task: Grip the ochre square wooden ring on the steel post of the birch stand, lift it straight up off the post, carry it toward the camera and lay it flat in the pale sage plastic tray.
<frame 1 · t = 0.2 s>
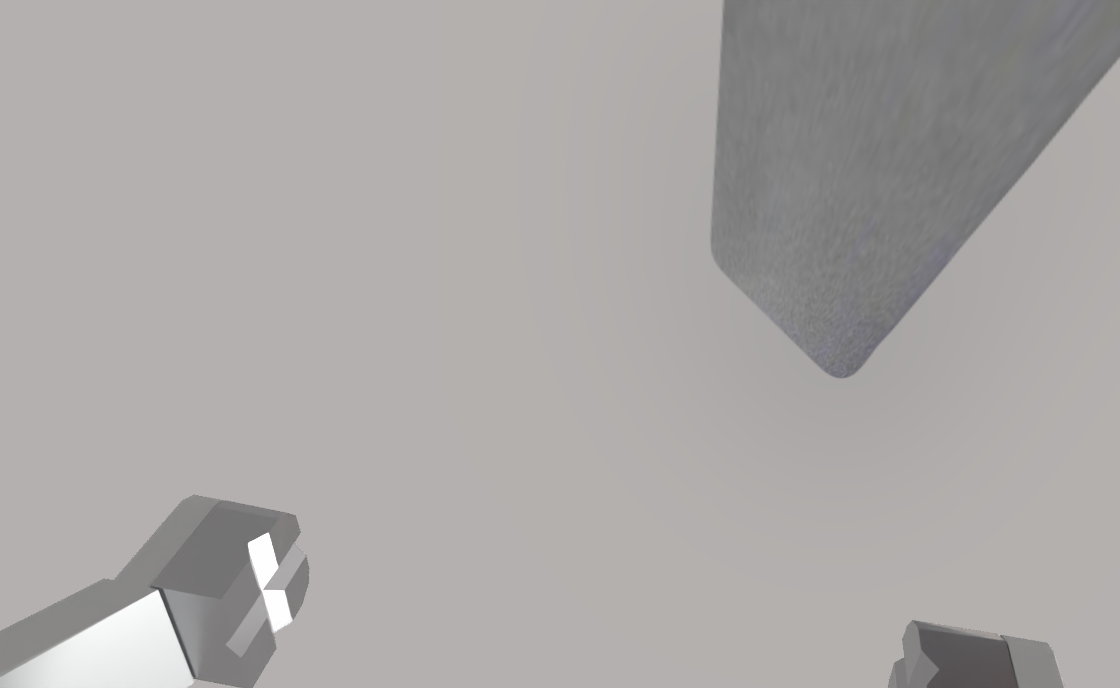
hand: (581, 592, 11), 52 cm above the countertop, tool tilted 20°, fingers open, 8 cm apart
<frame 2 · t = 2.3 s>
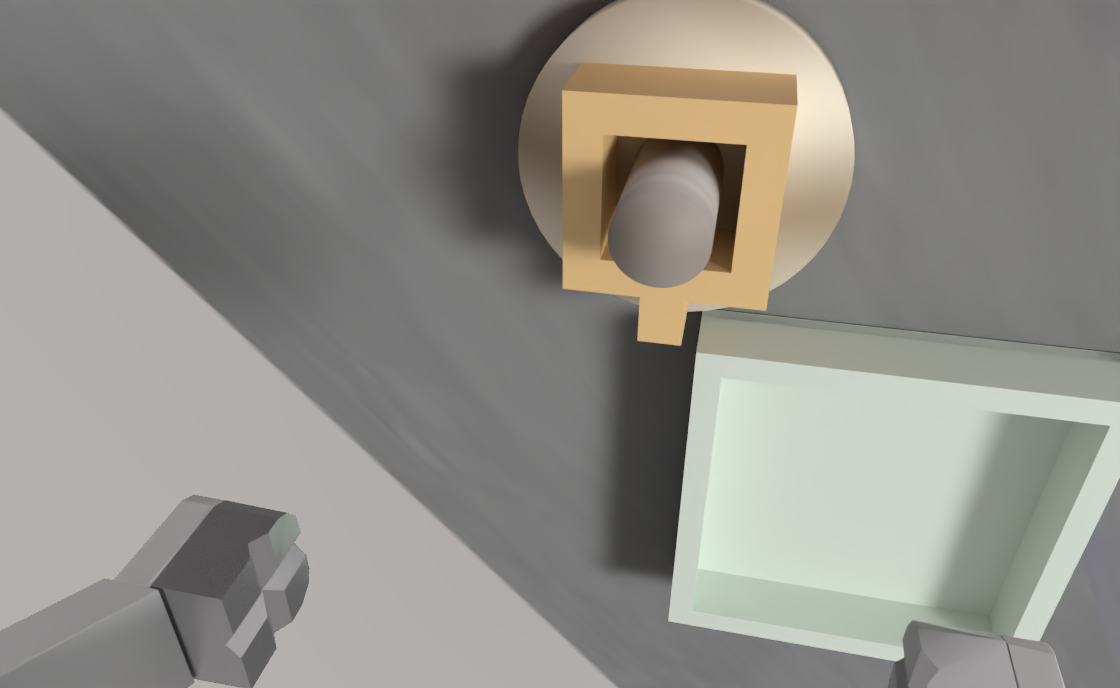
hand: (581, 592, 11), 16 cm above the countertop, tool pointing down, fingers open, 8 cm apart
stand: (683, 153, 24), on the countertop
tray: (865, 478, 29), on the countertop
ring: (678, 169, 23), point 1 cm above the countertop, touching stand
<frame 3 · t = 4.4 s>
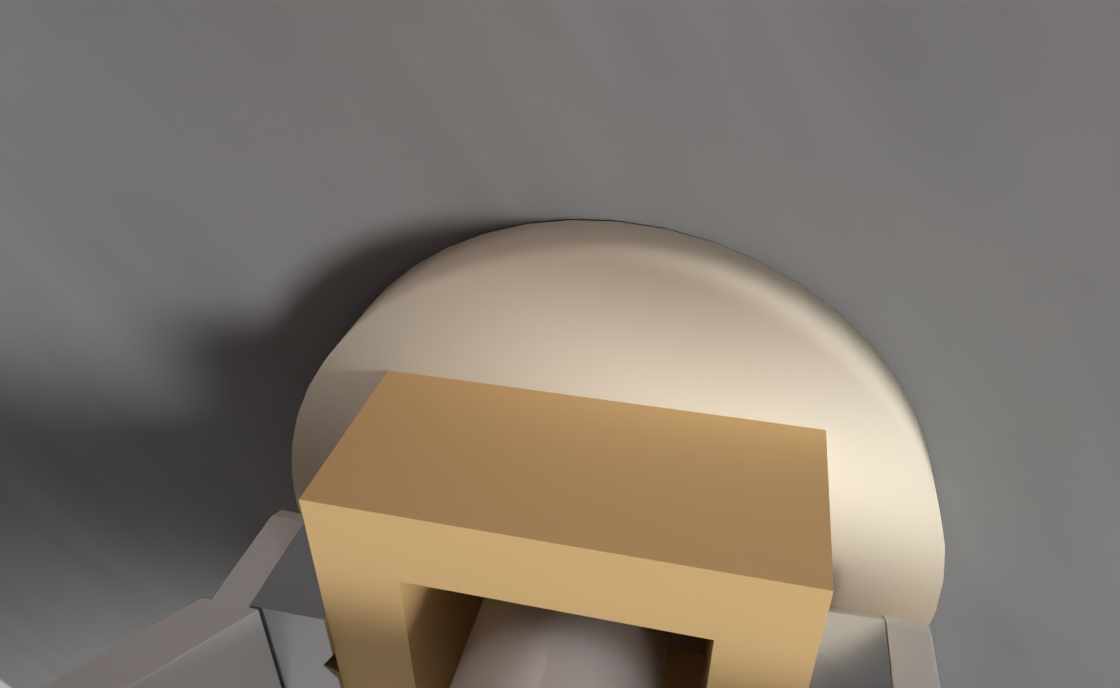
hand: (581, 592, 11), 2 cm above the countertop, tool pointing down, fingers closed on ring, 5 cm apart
stand: (608, 494, 13), on the countertop
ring: (592, 553, 12), point 1 cm above the countertop, touching gripper, stand
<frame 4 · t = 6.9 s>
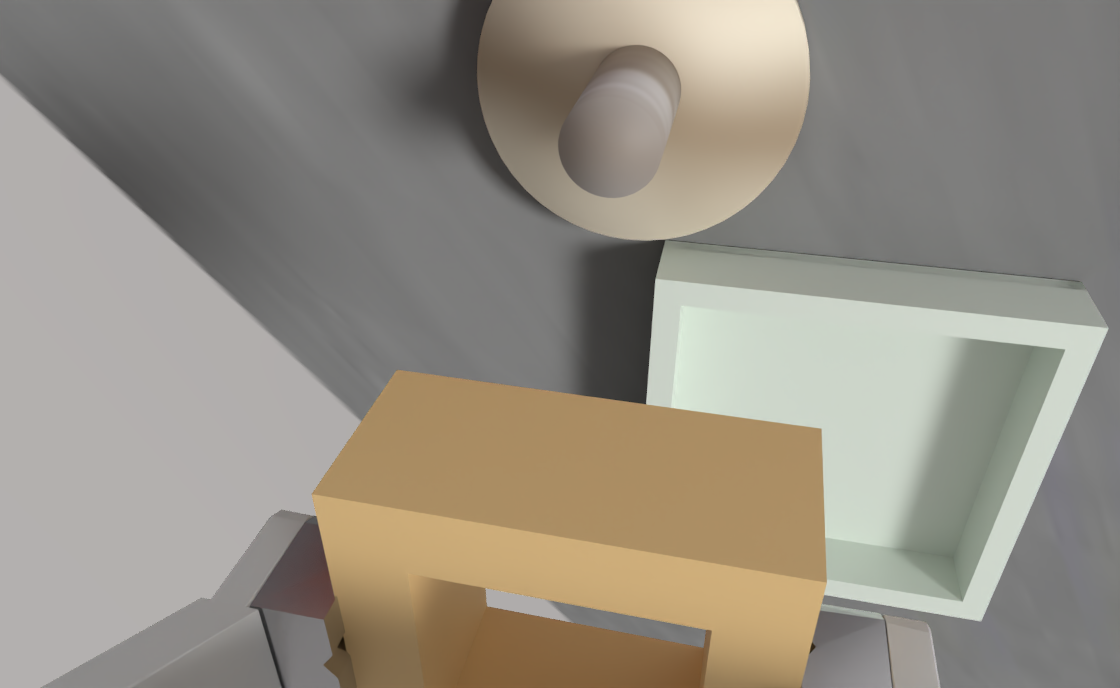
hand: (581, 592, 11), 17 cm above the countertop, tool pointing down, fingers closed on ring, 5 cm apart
stand: (642, 77, 24), on the countertop
tray: (828, 416, 29), on the countertop
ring: (594, 549, 12), point 16 cm above the countertop, touching gripper
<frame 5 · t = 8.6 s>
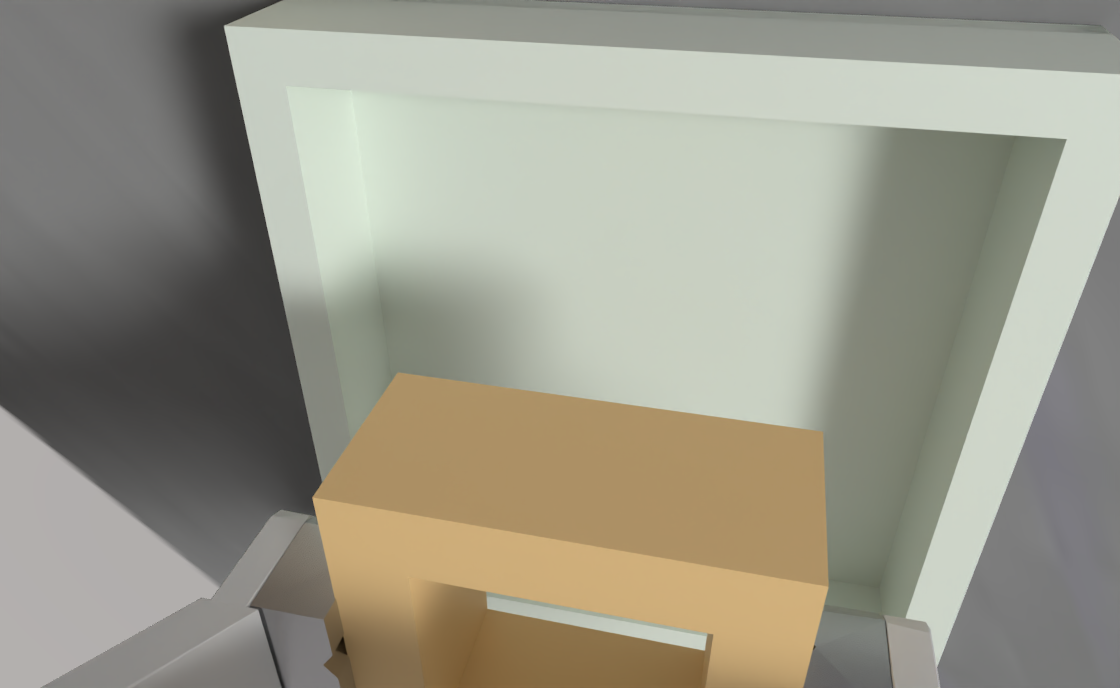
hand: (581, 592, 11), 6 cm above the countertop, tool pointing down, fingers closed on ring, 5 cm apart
tray: (648, 337, 16), on the countertop
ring: (595, 551, 12), point 5 cm above the countertop, touching gripper
when the fingers open (3 cm above the countertop, at t = 9.8 s): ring drops 1 cm, resting on tray.
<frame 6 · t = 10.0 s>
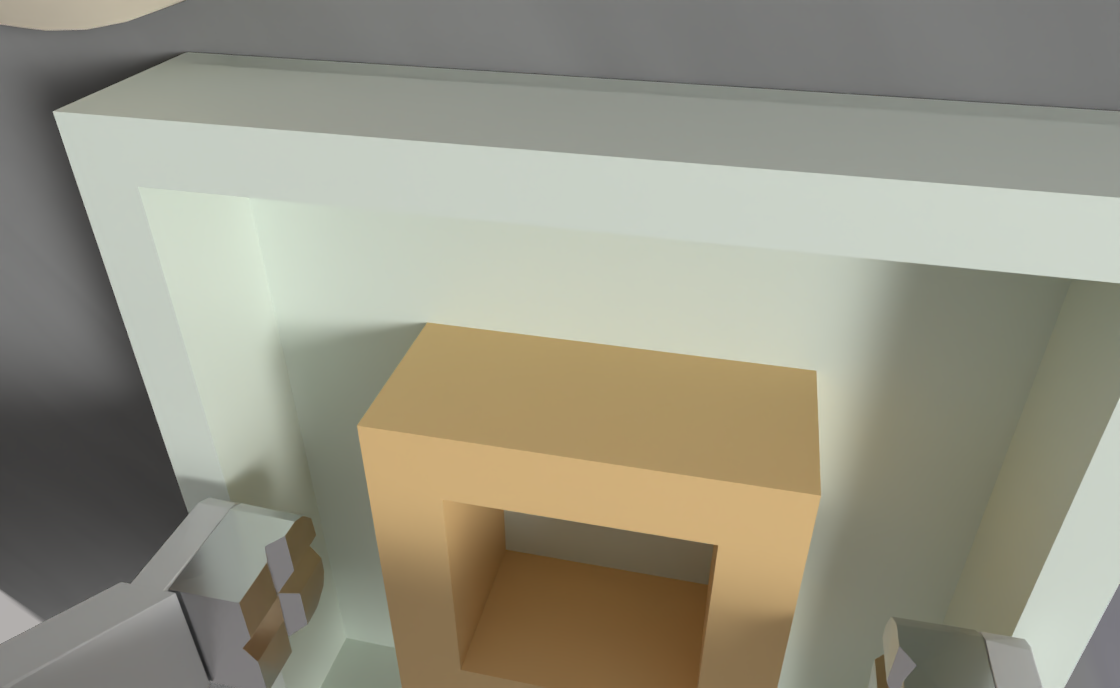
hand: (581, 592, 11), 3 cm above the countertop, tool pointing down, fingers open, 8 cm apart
tray: (617, 462, 13), on the countertop
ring: (607, 490, 13), resting on tray
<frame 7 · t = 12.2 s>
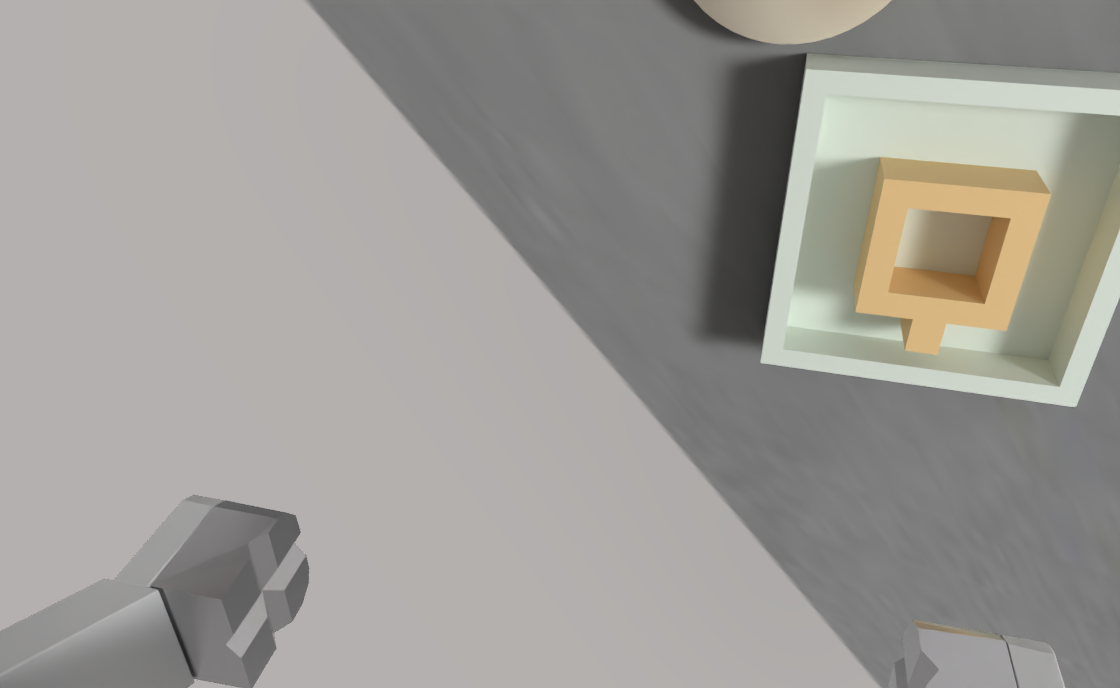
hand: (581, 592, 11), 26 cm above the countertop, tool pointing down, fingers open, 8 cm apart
tray: (940, 221, 33), on the countertop
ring: (939, 230, 33), resting on tray
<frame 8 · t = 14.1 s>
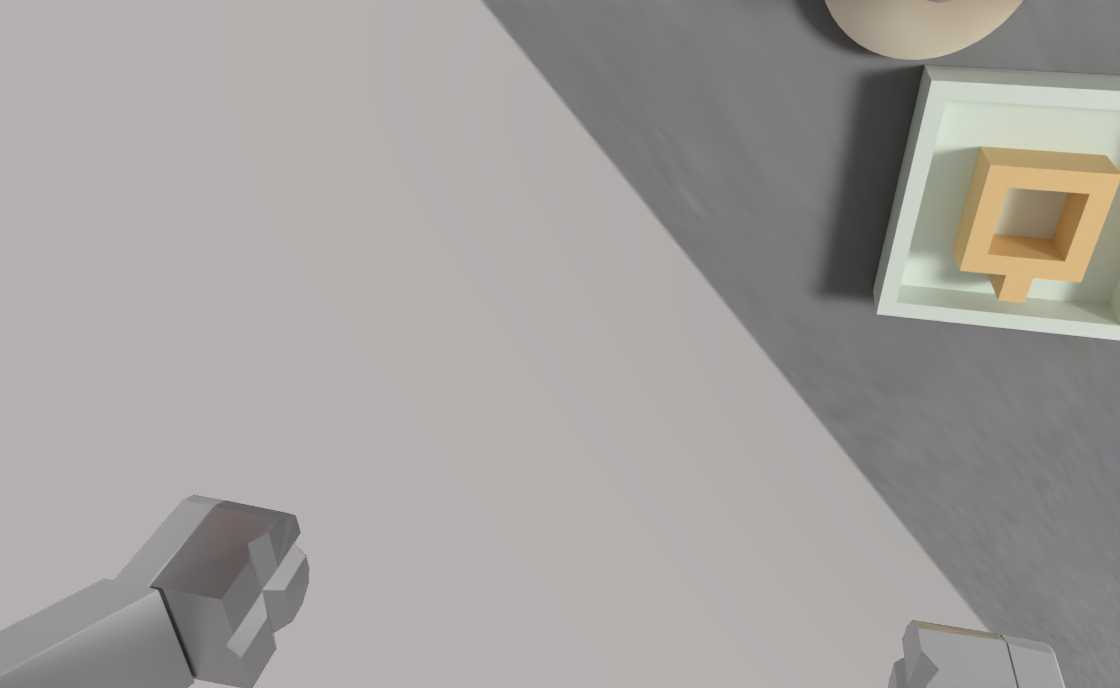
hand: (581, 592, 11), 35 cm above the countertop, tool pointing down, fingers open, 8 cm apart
tray: (1025, 196, 41), on the countertop
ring: (1025, 204, 41), resting on tray
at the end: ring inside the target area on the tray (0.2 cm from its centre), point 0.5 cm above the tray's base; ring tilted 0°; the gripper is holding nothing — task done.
